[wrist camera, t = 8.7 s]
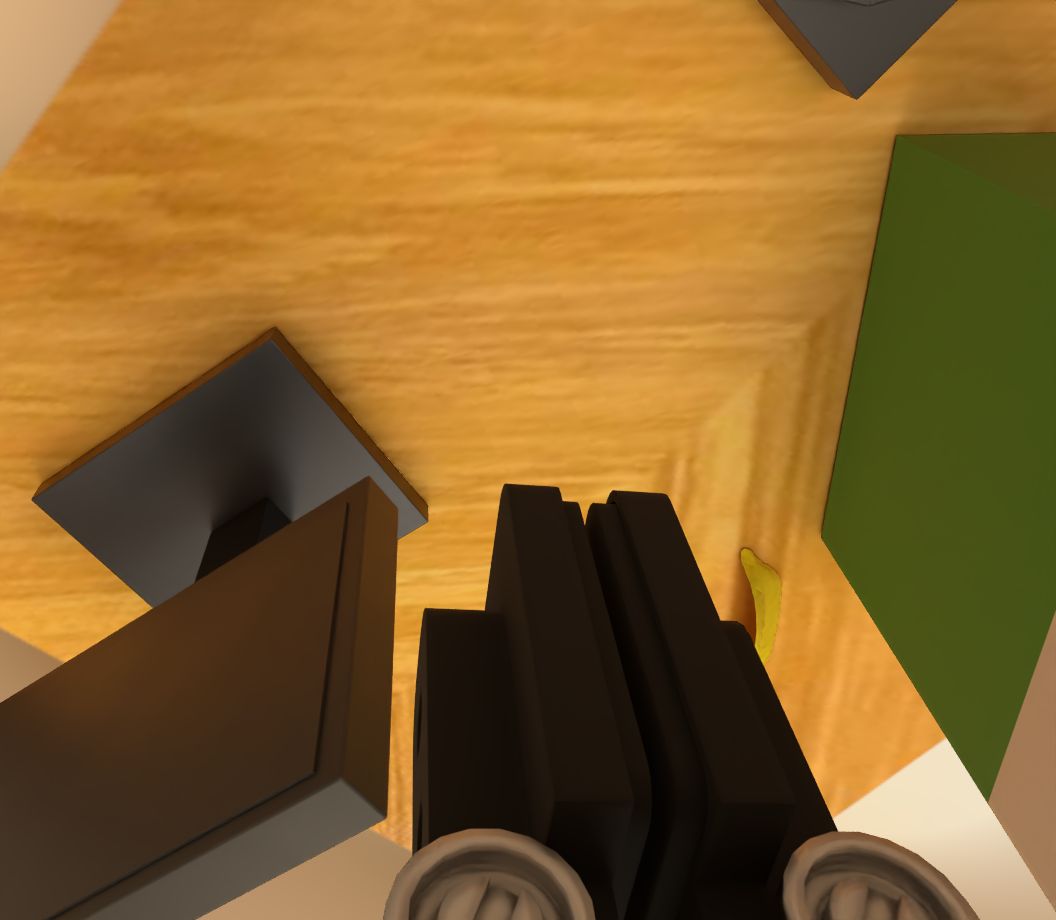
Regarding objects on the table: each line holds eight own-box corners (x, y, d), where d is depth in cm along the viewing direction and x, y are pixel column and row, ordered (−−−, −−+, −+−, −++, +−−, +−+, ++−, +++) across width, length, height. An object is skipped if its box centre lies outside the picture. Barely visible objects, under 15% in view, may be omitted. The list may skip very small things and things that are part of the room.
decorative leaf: (762, 705, 49) (737, 747, 46) (724, 689, 50) (698, 730, 47) (796, 548, 44) (771, 584, 42) (753, 533, 45) (726, 569, 42)
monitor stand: (40, 483, 39) (-94, 689, 29) (275, 325, 37) (219, 489, 26) (210, 637, 44) (146, 861, 34) (428, 506, 41) (431, 704, 31)
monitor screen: (-33, 719, 33) (-238, 1090, 23) (367, 471, 30) (338, 774, 19) (6, 747, 34) (-176, 1117, 24) (400, 508, 31) (388, 819, 20)
